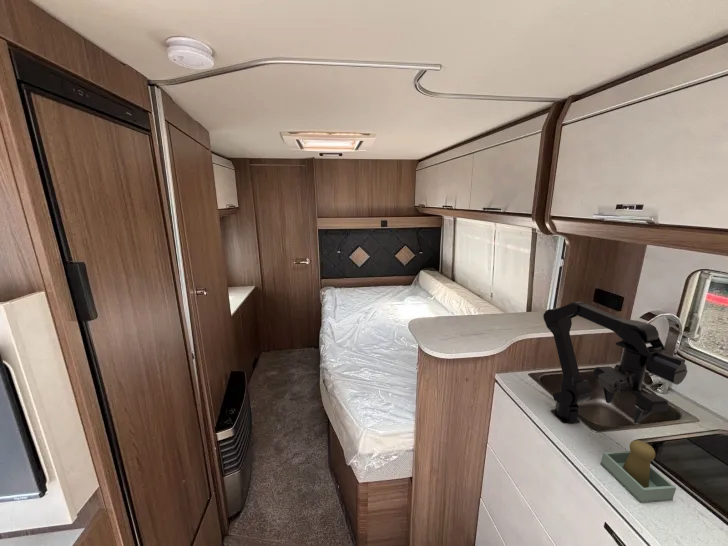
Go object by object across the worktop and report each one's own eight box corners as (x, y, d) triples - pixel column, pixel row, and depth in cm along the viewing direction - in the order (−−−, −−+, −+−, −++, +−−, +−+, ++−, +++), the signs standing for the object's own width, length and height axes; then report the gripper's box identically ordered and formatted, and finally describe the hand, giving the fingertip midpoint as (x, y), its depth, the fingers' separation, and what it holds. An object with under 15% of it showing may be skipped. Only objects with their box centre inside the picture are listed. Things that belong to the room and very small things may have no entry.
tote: (600, 463, 90) (603, 452, 89) (628, 462, 91) (632, 450, 90) (640, 502, 79) (643, 490, 78) (672, 500, 80) (676, 487, 79)
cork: (614, 469, 88) (623, 436, 85) (635, 469, 88) (644, 436, 86) (633, 488, 82) (642, 453, 79) (655, 488, 82) (665, 454, 80)
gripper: (582, 350, 98) (573, 394, 101) (639, 384, 80) (625, 436, 83) (614, 350, 99) (604, 393, 102) (677, 383, 81) (662, 434, 84)
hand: (621, 412), depth 93 cm, fingers open, 9 cm apart
